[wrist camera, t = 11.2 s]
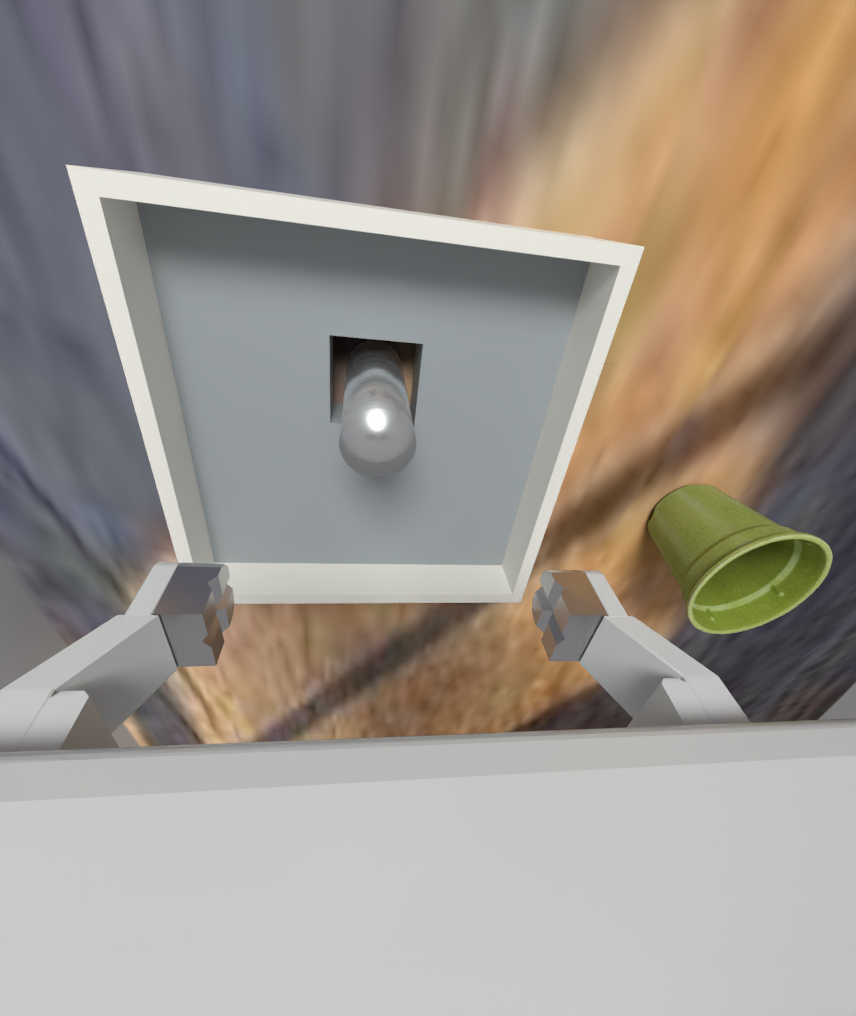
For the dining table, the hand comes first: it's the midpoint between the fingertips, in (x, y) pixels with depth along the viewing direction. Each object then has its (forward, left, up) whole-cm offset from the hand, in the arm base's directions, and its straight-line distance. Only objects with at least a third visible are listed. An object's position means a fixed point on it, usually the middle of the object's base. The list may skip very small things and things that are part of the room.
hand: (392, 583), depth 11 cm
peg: (0, 0, -18) cm, 18 cm away
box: (0, +3, -18) cm, 19 cm away
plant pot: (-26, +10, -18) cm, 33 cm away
